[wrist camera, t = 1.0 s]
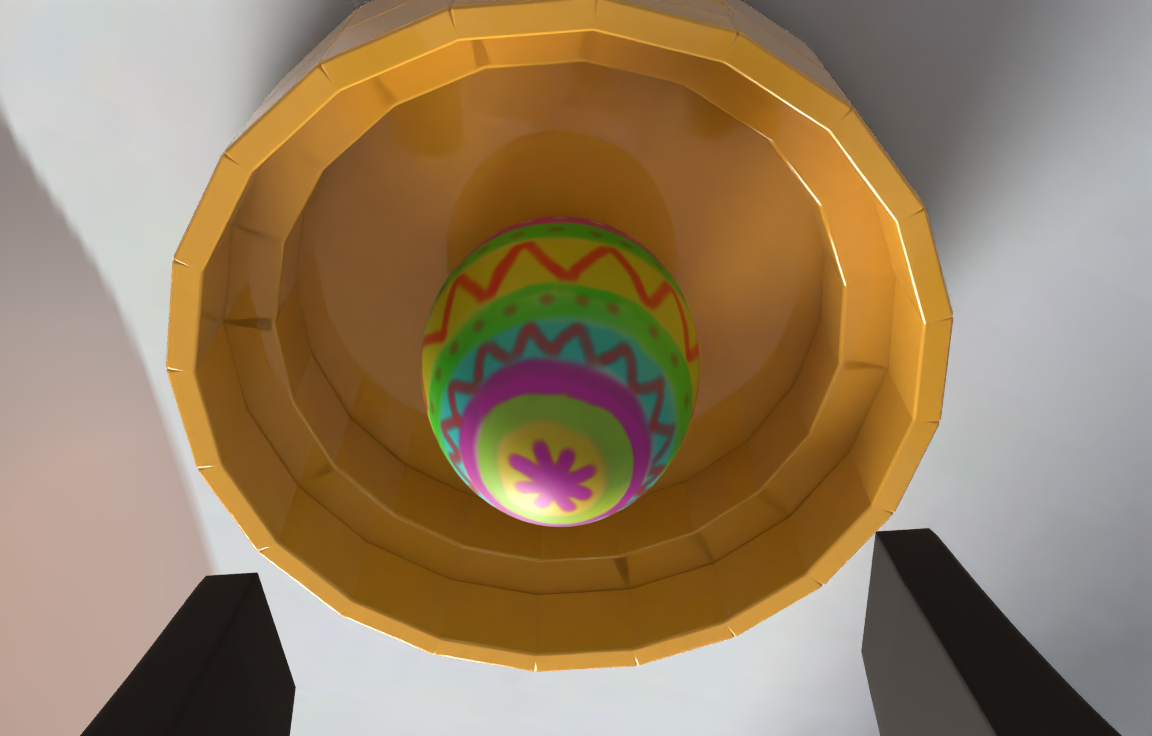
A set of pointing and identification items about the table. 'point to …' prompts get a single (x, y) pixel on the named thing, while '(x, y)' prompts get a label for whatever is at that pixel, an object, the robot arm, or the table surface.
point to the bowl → (544, 189)
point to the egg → (560, 370)
